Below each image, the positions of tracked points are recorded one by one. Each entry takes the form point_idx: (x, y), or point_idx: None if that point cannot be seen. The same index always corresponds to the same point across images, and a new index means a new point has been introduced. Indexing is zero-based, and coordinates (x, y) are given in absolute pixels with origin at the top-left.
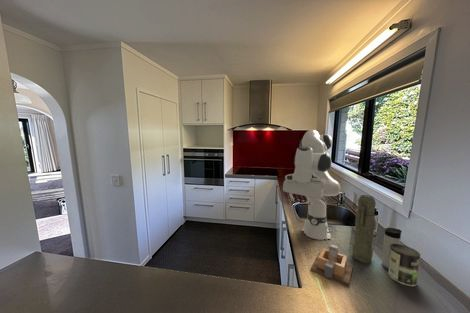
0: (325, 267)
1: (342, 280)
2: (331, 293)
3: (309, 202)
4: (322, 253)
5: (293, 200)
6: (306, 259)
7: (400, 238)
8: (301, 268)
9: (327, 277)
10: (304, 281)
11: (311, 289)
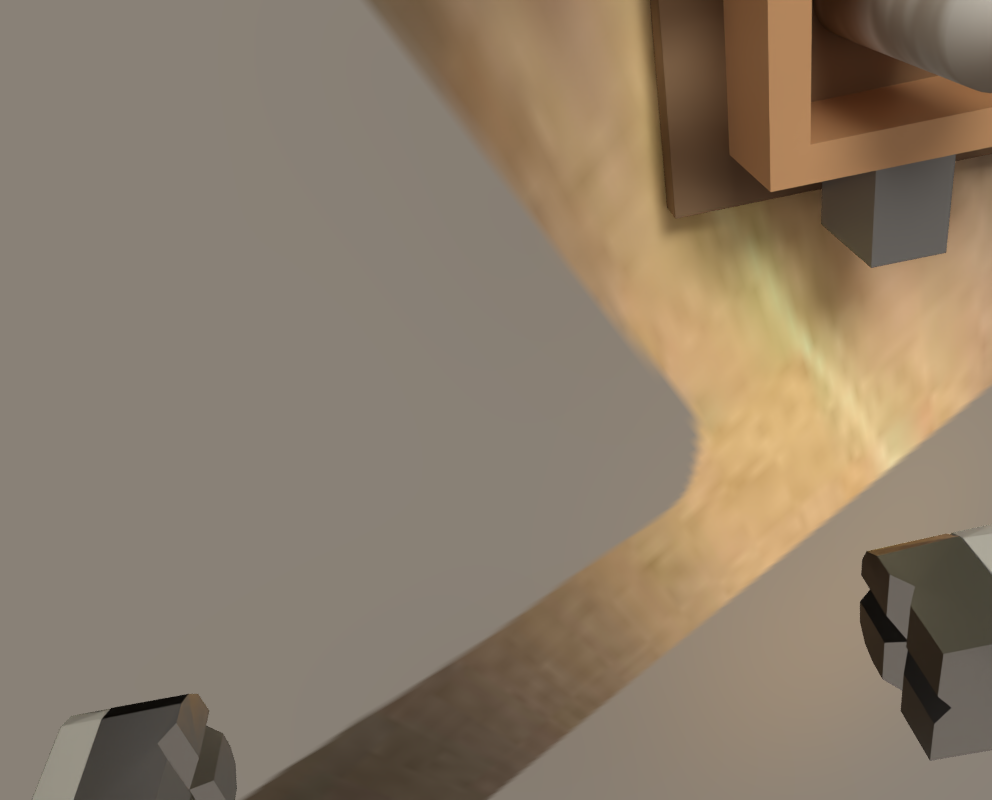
0: (863, 255)
1: (982, 152)
2: (892, 332)
3: (960, 736)
4: (791, 46)
5: (226, 792)
6: (550, 53)
7: None
8: (586, 256)
9: None
10: (681, 383)
11: (755, 413)
